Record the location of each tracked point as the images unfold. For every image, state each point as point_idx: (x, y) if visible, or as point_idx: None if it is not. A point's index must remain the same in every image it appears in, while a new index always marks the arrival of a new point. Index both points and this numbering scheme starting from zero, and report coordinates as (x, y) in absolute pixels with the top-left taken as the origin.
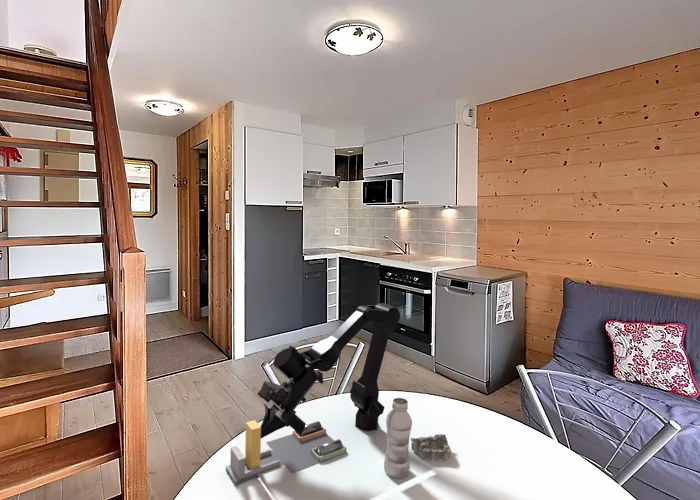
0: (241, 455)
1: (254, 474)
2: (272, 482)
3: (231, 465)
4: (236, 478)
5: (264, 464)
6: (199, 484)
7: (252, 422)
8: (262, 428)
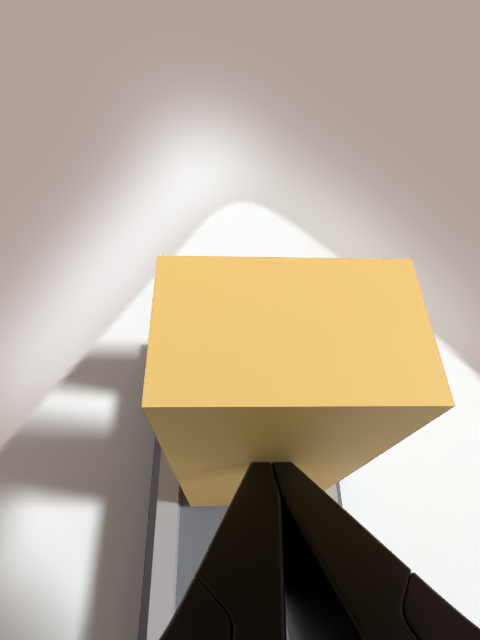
0: None
1: (159, 451)
2: (51, 548)
3: None
4: None
5: None
6: (266, 234)
7: (379, 340)
8: (277, 524)
